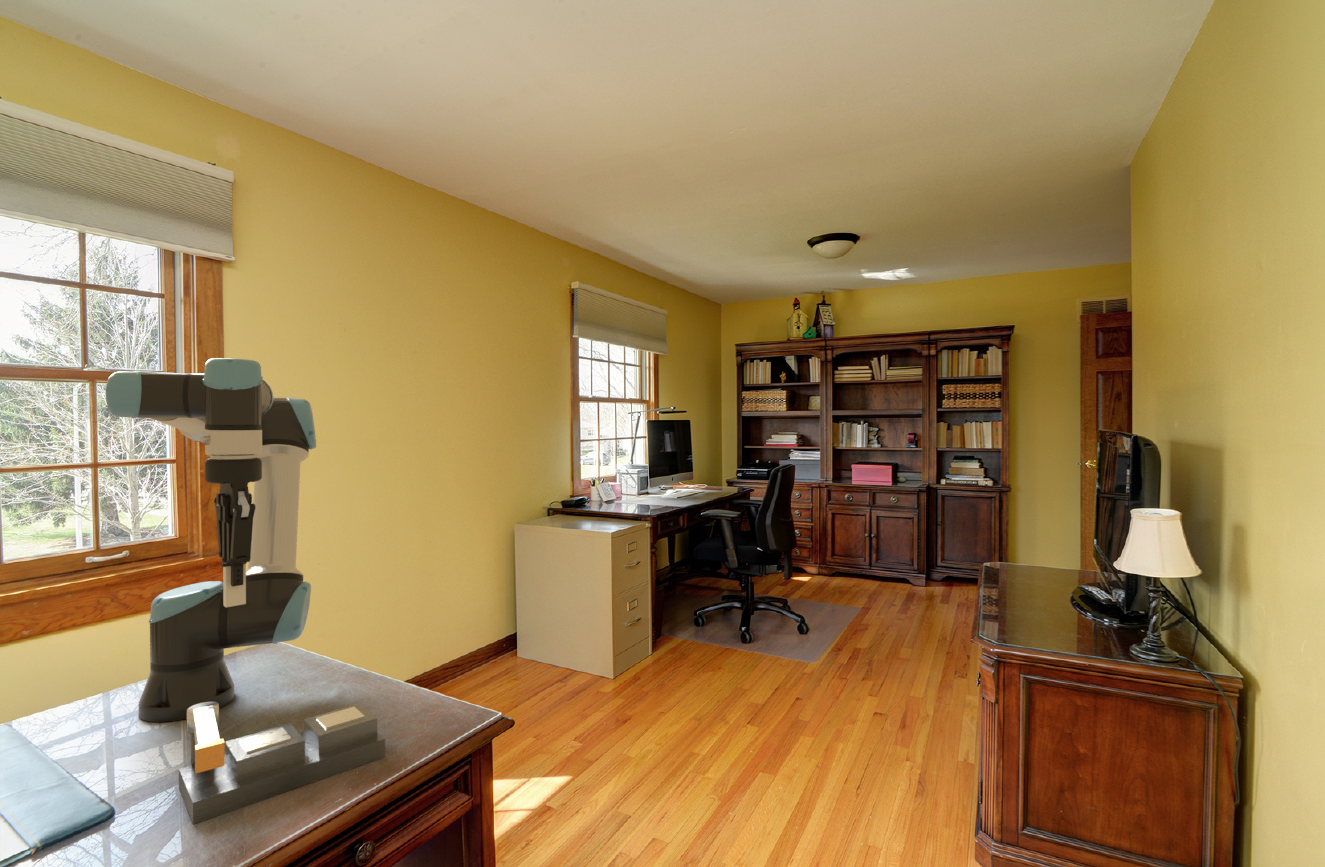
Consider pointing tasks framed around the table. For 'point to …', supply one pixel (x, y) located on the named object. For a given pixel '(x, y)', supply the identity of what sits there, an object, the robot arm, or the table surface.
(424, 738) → the table surface
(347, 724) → the grey stepped block base
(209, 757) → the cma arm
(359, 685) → the table surface
